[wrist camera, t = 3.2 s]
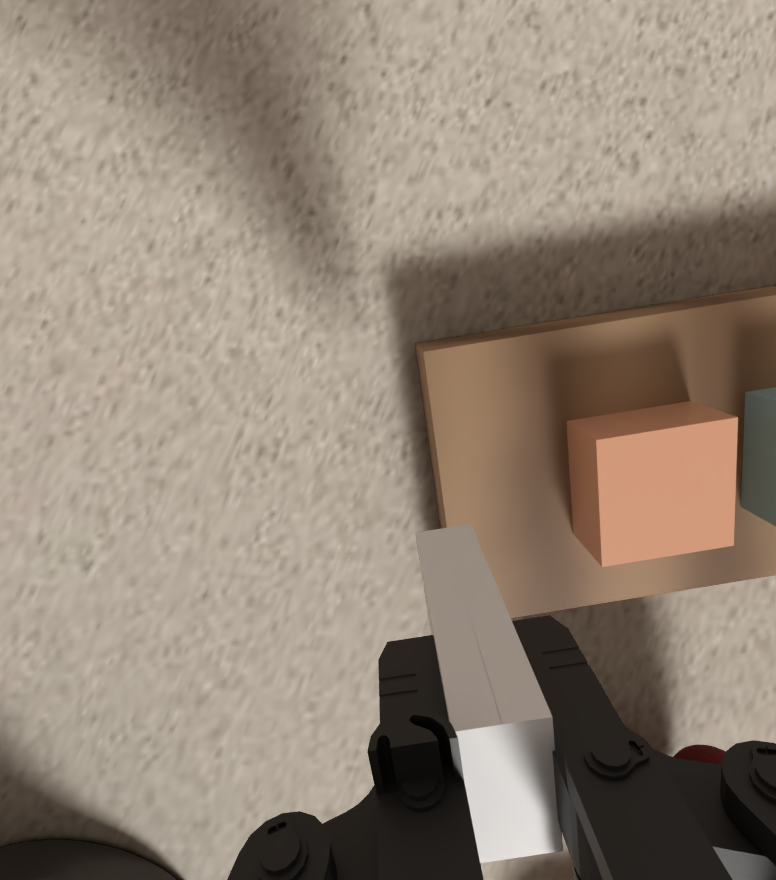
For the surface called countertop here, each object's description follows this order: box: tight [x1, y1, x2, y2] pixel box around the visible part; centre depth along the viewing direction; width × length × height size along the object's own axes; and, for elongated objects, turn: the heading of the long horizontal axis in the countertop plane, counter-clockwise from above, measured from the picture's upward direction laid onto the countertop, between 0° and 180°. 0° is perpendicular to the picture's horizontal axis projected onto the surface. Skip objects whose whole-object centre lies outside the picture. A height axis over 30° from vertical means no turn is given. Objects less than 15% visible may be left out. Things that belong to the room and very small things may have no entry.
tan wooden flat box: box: [415, 285, 776, 618], centre depth 21 cm, size 20×11×3 cm, turn 99°
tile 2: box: [566, 401, 738, 567], centre depth 18 cm, size 4×4×2 cm
